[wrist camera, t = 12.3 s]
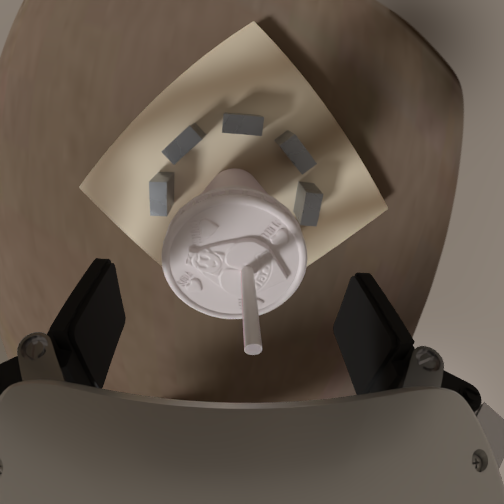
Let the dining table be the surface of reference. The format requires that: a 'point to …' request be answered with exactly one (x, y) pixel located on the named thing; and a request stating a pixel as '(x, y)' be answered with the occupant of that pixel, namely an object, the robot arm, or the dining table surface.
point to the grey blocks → (244, 124)
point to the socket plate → (236, 146)
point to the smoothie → (234, 253)
